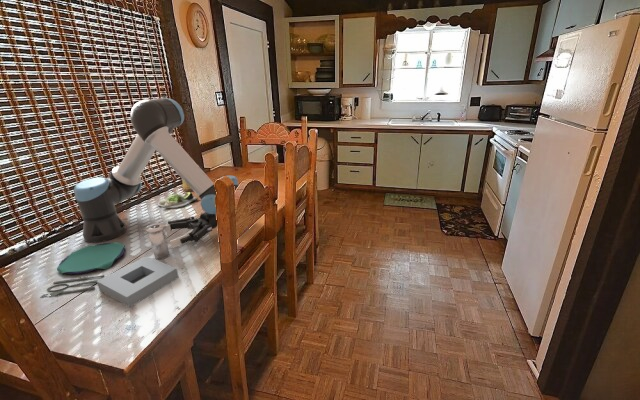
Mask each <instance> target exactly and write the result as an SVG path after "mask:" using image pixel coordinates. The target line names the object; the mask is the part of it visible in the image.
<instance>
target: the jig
mask: <svg viewBox="0 0 640 400" xmlns="http://www.w3.org/2000/svg"><path fill="white" fill-rule="evenodd" d="M178 278H179V273H178V269H177V267H175V266H172V265H169V264H167V263H164V262H162V261H160V260H158V259H155V258H152V257H150V256H147V255H145V256H144V257H142V258H139V259H138V260H136V261H135V262H132V263H129V264H128V265H126V266H124V267H122V268H120V269H118V270H116V271H114V272H112V273H110V274H107V275H105V276H104V278H103V277H101V278H100V279H97V280H98V281H97V283H96V284H97V287H98V290H99V291H100V292H101V293H104V294H105V295H108V297H110V298H112V299H115V301H118V302H120V303H121V304H123V305H125V306H127V307H129V308H132V307H133V306H135V305H136V304H138V303H140V302H141V301H142V300H145V299H146V298H147V297H149V296H150V295H151V296H152V295H153V294H154V293H155V292H157V291H159V290H160V289H162V288H164V287H165V286H167V285H169V284H170V283H172V282H173V281H175V280H176V279H178Z"/></svg>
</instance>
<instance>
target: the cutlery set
mask: <svg viewBox="0 0 640 400" xmlns="http://www.w3.org/2000/svg"><path fill="white" fill-rule="evenodd" d="M125 247H126V245H125V244H123V243H121V242H103V243H98V244H92V245H87V246H84V247H81V248H79V249H76V250H74V251H71V253H70V254H69V255H67V256H66V257H65V258H64V259H62V260H61V261H60V263H59V264H58V266H57V268H56V271H58V272H59V273H60V274H61V275H65V274H69V275H76V274H86V273H88V272H93V271H97V270H99V269H102V270H107V269H110V268H111V267H112V265H113V264H114V262H115V261H117V260H119V258H121V256H123V255H124V253H125V250H126V249H125ZM104 277H105V275H104V274H103V275H97V276H83V277H81V276H80V277H79V278H69V279H63V280H58V281H54V282H53V285H52V286H49V287H48V288H46V291H49V292H51V291H52V289H54V288H57V287H63V286H65V287H63V288H59V289H56V290H53V292H51V293H45V294H43V295H41V296H40V297H39V298H40V299H43V298H44V297H45V295H48V294H50V295H51V296H55V297H59V296H61V295H60V294H63V295H64V294H74V293H80V292H81V293H83V292H87V291H94V290H95V289H96V287H95V286H89V287H88V286H86V287H84V288H80V289H74V290H65V289H67V288H72V287H76V286H82V285H90V284H97V281H98V280H99V279H97V278H104ZM95 278H96V279H95ZM88 279H95V280H90V281H89V280H88ZM86 280H88V281H86ZM76 281H77V282H78V281H79V282H78V283H76V284H75V283H74V284H71V285H70V284H68V282H76ZM81 281H84V282H81ZM50 290H51V291H50ZM58 295H59V296H58ZM43 296H44V297H43Z"/></svg>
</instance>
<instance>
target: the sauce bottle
mask: <svg viewBox="0 0 640 400" xmlns="http://www.w3.org/2000/svg"><path fill="white" fill-rule="evenodd" d="M181 181H182V187H183V190H184V192H192V191H193V190H192V189H191V188H190V187H189V185H188V184H187V183H186V182H185V181H184V180H183V179H182V178H181ZM193 192H194V191H193Z"/></svg>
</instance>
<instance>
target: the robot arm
mask: <svg viewBox="0 0 640 400" xmlns="http://www.w3.org/2000/svg"><path fill="white" fill-rule="evenodd" d="M184 120H185V113H184V110H183V108H182V106H181V105H180V104H179V103H178V102H177V101H176V100H174V99H172V98H166V97H161V98H154V99H142V100H139V101H138V102H136V103H135V104H134V105H133V106H132V108H131V111H130V123H131V124H132V127H133V129H134V131H135V132H136V133H137V134H136V136H135V138H134V139H133V141H132V143H131V145H130V147H129V149H127V152H126V154H125V156H124V157H123V159H122V161H121V163H120V164H119V165H117V166H114V167H113V168H112V170H111V171H110V173H109V175H108V176H107V177H103V176H102V177H92V178H90V179H85V180H82V181H80V182H79V183H77V184H76V185H75V186H74V187H73V192H74V198H75V200H76V203H77V205H78V208H79V211H80V215H81V217H82V220H83V227H82V237H83V240H84V241H85V242H87V243H102V242H106V241H110V240H112V239H113V240H114V239H116V238H118V237H120V236H121V235H123V234H125V233H126V232H127V227H126V224H125V222H124V221H123V219H122V218H121V217H120V215H118V213H117V209H116V205H117V204H119V203H121V202H124V201H125V200H128V199H130V198H132V197H134V196H136V195H137V194H138V193H139V192H140V191H141V189H142V186H143V185H142V177H141V175H142V174H143V171H144V169H145V168H146V167H147V165H148V163H149V162H150V160H151V159H152V157H153V155H154V154H155V152H157V153H158V154H159V155H160V156H161V157H162V158H163V160H164V161H166V163H167V164H168V165H169V166H170V167H171V168H172V169H173V170H174V171H175V173H176V174H177V175H178V176H179V177H180V178H181V180H182V179H183V180H184V181H185V182H186V183H187V184H188V185H189V187H190V188H191V189H192V190H193V192H194V193H195V194H196V196H197V197H198V198H199V199H200V206H201V209H202V210H203V212H202V213H201V214H200V216H199V218H195V217H194V215H193V216H190V217H186V218H179V219H173V220H169V221H167V224H165V227H166V228H165V229H164V231H165V234H166V233H169V232H172V230H173V231H174V230H180V229H182V230H183V229H188V230H192V231H191V232H188V234H187V233H185V234H183V235H181V236H178V237H176V238H174V239H171V240H169V245H170V248H171V249H174V248H176V247H179V246H181V245H184V244H186V243H188V242H193V241H194V242H195V243H197V242H198V241H201V239H203V238H204V237H205V236H206V235H208V234H209V233H210V232H212V231H213V230H214V229H216V228H218V227H217V220H216V207H215V196H216V191H215V187H214V184H215V183H214V182H213V181H212V179H210V177H209V176H208V175H207V174H206V173H205V172H204V170H203V169H202V168H201V167H200V166H199V164H197V163H196V162H195V160H194V159H193V158H192V157H191V156H190V154H189V153H188V152H187V151H186V150H185V149H184V148H183V147H182V146H181V144H180V143H179V142H178V141H177V140H176V139H175V138H174V137H173V136H172V133H173V131H174V129H176V128H179V127H180V126H181V125H182V124H183V122H184ZM226 176H227V177H229V178H230V179H231V180H232V181H233V182H234V186H235V190H236V188H237V187H238V186H239V181H238V178H237V176H234V175H226ZM222 177H224V176H220V178H222Z"/></svg>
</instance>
